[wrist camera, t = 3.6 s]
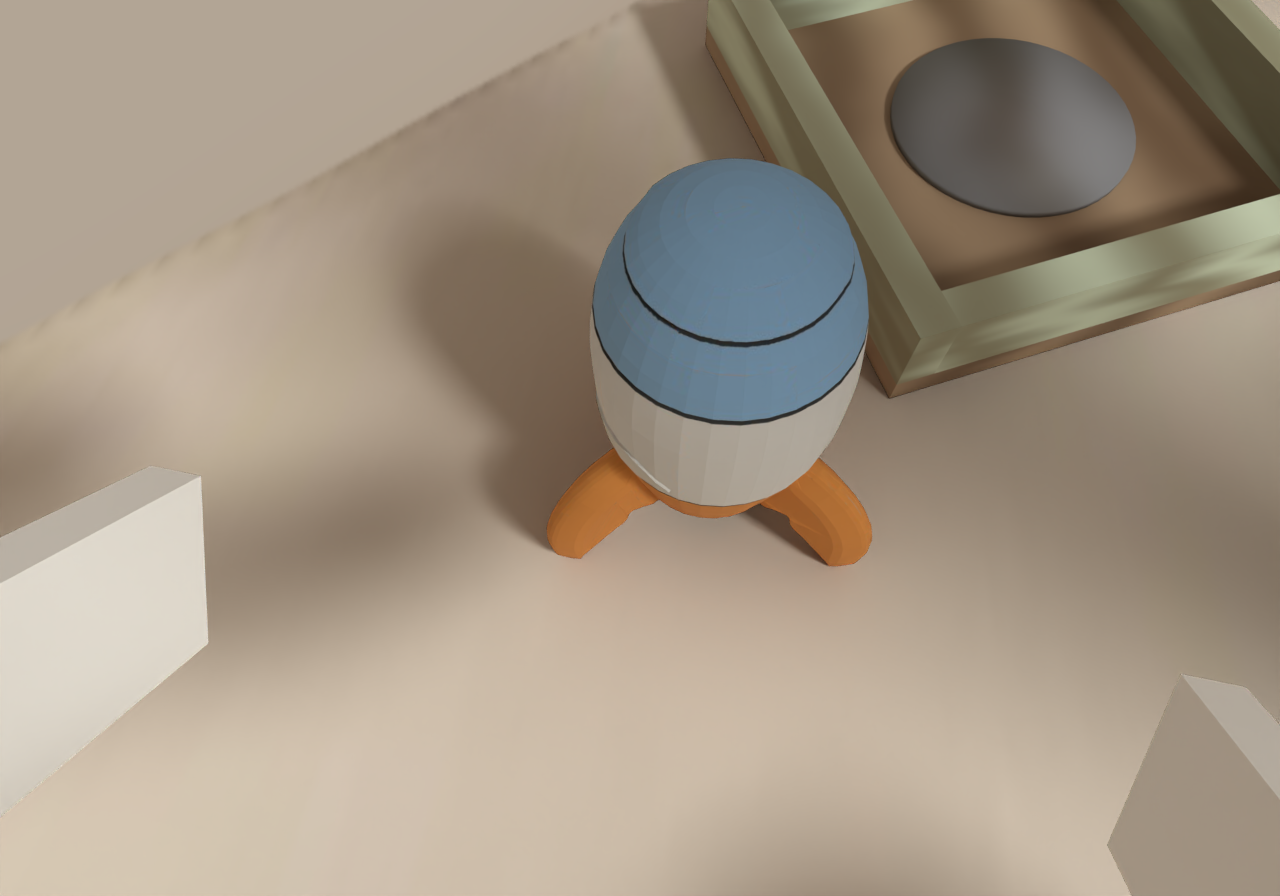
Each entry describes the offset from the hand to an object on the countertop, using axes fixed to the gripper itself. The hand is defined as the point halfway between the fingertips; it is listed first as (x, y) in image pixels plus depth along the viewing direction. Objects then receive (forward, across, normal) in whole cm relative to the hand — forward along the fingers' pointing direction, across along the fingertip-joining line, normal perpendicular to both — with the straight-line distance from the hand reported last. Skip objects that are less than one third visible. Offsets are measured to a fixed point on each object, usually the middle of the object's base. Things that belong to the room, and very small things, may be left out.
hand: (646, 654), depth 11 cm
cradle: (+31, +10, +9) cm, 33 cm away
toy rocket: (+19, 0, -4) cm, 19 cm away
